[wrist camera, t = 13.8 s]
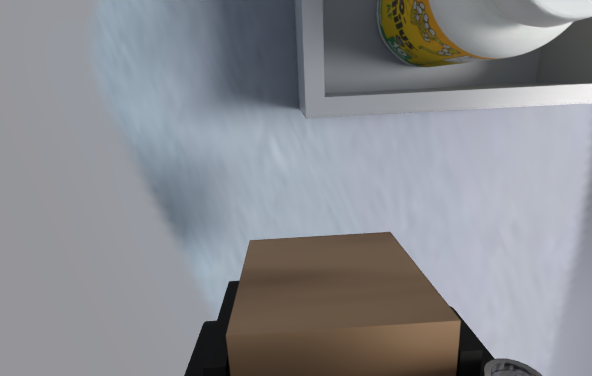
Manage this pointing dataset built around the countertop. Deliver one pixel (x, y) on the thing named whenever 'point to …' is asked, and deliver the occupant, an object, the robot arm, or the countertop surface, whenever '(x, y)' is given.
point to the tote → (424, 69)
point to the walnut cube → (338, 311)
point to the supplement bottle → (472, 28)
